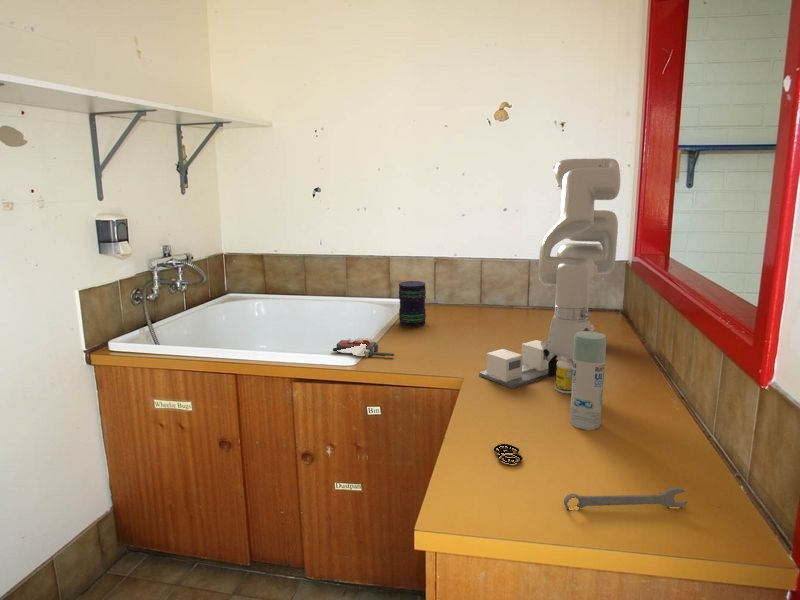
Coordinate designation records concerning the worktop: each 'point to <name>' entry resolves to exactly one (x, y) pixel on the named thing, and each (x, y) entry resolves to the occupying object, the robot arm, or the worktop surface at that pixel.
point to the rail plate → (527, 377)
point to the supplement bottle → (564, 375)
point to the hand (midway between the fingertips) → (566, 380)
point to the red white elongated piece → (351, 343)
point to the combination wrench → (629, 499)
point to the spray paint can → (587, 379)
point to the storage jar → (412, 303)
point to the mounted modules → (516, 361)
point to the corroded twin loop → (508, 452)
